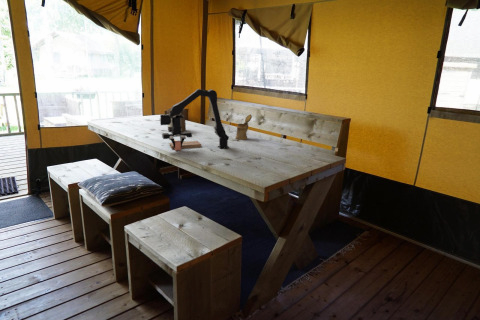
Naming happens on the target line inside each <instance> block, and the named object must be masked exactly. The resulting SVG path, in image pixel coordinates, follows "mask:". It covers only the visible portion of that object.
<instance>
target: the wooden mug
mask: <svg viewBox="0 0 480 320" xmlns="http://www.w3.org/2000/svg"><path fill="white" fill-rule="evenodd" d="M252 117H253V116H252V114H249V115H246V117H245V120H244V122H243V123H237V126H236V135H235V139H236V140H239V141H242V140H243V141H244V140H247V139H248V135H247V132H248V130H249V122H250V121H252Z"/></svg>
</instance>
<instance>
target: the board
mask: <svg viewBox="0 0 480 320" xmlns="http://www.w3.org/2000/svg"><path fill="white" fill-rule="evenodd" d="M169 147H170V148H171V150H175V149H174V146H173V143H172V142H169ZM190 148H191V149H193V148H202V143H201V142H199V141H198V140H191V141H183V143H182V146H181V149H190Z"/></svg>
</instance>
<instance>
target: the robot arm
mask: <svg viewBox="0 0 480 320" xmlns="http://www.w3.org/2000/svg"><path fill="white" fill-rule="evenodd" d="M200 96H201V97H206V98H208V101H209V103H210V106H211V111H212V115H213V118H214V124H215V126H213V130H214V133H215V135H216V136H218V139H219V140H218V141H219V143H218V144H219V145H217V147H218V148H219V149H221V150H222V149H230V147H229V146H228V145H229V144H228V142H229V141H228V140H229V139H230V136H229V135H228V134H227V133H226V130H225V127H224V125H223V124H222V119H221V114H220V111H219V106H218V94H217V91H216V90H215V89H211V88H210V89H208V90H206V89H200V88H197V89H196V90H195V91H194V92H192V93H191V94H189V95H188V96H186V98H184V99H183V100H182V101H180V102H177V103H175V104H174V105H172V106H171V107H170V108H171V111H170V113H169V115H167V114H160V119H159V122H160V126H167V131H168V132H163V133H162V134H161V138H162V139H163V140H170V141H171V143H173V146H174V148H175V141H174V140H175V138H174V137H179V141H180V142H181V146H182V143H183V142H185V140H186V139H187V138H192V137H193V133H191V131H184V132H181V118H184V116H182V114H180V113H181V112H182V111H183V109H185V108H186V107H187V106H189V105H190V104H191V103H192V102H194V101H195V100H196V99H197V98H198V97H200ZM178 114H180V115H178ZM173 116H174V117H173ZM171 118H172V128H171V127H168V125H169V124H170V123H171Z"/></svg>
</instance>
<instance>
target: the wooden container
mask: <svg viewBox="0 0 480 320" xmlns="http://www.w3.org/2000/svg"><path fill="white" fill-rule="evenodd" d="M171 108H172V107H170V108H167V109H166V115H169V113H170V111H171ZM180 114H182V116H184V118H181V133H184V132H187V131H186V130H187V128H186V126H187V125H186V110H185V108H184V109H183V111H182V112H181V113H180ZM180 114H178V115H180ZM173 117H174V116H173ZM168 127H171V128H172V118H171V123H170V124H169V125H167V128H168Z"/></svg>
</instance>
